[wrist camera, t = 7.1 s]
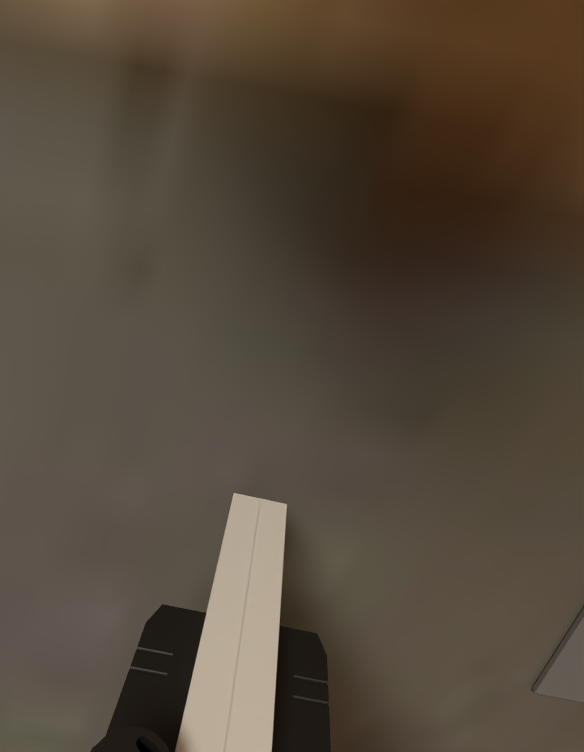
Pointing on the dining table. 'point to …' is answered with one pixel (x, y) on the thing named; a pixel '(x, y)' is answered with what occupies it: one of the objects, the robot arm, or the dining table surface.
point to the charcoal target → (566, 667)
